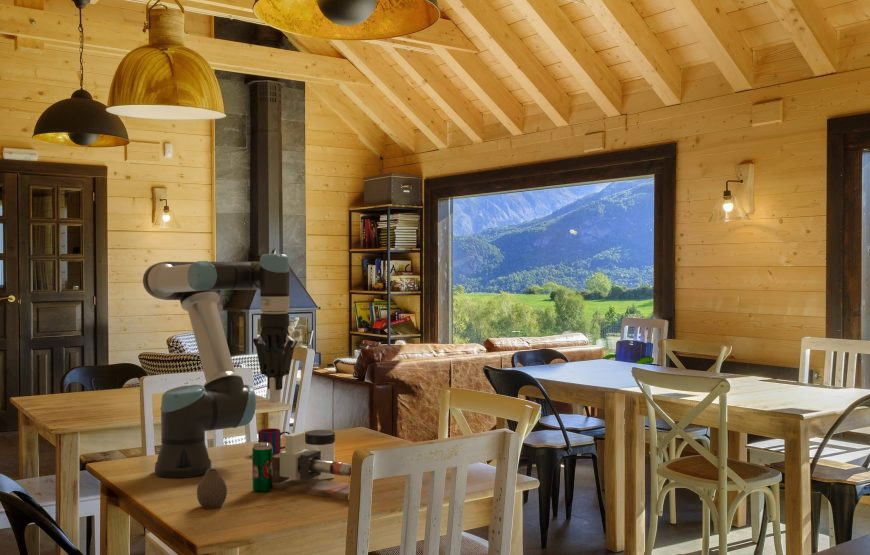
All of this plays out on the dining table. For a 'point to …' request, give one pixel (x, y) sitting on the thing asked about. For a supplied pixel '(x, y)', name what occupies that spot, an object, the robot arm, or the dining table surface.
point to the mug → (271, 438)
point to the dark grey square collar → (305, 464)
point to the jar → (322, 447)
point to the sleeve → (292, 455)
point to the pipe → (328, 467)
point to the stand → (308, 484)
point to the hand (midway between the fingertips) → (275, 401)
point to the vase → (211, 490)
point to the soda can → (262, 467)
